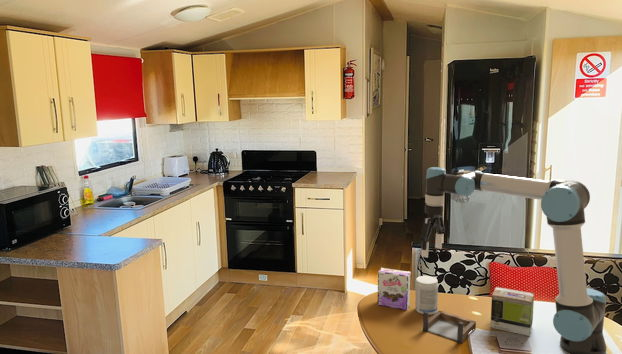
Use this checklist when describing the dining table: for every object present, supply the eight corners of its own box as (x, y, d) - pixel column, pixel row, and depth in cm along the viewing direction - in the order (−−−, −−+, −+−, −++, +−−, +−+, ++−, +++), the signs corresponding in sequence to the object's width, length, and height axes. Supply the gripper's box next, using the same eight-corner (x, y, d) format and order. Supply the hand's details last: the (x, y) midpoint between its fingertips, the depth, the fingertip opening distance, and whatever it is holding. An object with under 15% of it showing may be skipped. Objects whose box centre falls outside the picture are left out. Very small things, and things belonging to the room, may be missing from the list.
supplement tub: (441, 312, 209) (443, 280, 206) (426, 317, 204) (427, 285, 201) (425, 304, 217) (426, 273, 214) (410, 309, 212) (411, 278, 209)
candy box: (377, 305, 216) (377, 271, 213) (380, 300, 221) (380, 267, 218) (407, 310, 211) (408, 275, 208) (409, 305, 216) (410, 271, 213)
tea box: (532, 326, 195) (535, 292, 193) (529, 337, 187) (532, 302, 184) (494, 318, 203) (495, 285, 200) (489, 328, 194) (491, 294, 192)
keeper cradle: (476, 328, 194) (477, 310, 193) (461, 344, 182) (462, 324, 181) (438, 316, 204) (439, 299, 203) (421, 330, 193) (422, 312, 191)
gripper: (438, 197, 210) (435, 243, 214) (412, 208, 191) (410, 258, 195) (454, 199, 206) (451, 246, 210) (429, 211, 187) (426, 262, 191)
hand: (431, 252), depth 202 cm, fingers open, 13 cm apart
